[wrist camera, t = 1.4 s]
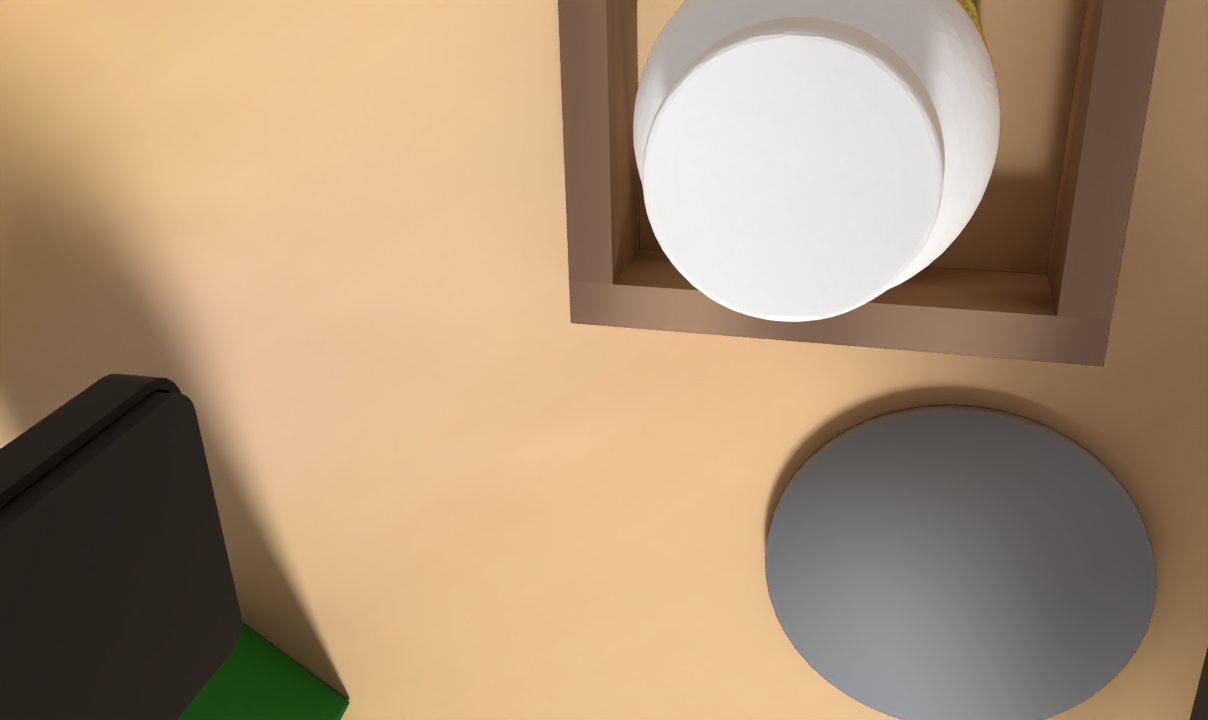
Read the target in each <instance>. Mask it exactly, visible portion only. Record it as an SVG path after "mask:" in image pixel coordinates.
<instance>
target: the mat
mask: <svg viewBox="0 0 1208 720" xmlns="http://www.w3.org/2000/svg"><path fill="white" fill-rule="evenodd" d="M765 570H766V581H767V586H768V591H769V597H770V600H771V602H772V605H773V608H774V611H775V614H776V616H777V618H778V620H779V622H780V624H781V626H782V628H783V630H784V632H785V634H786V635H787V637H788V638H789V640H790V641H791V643H792V644H793V646H794V647H795V649H796V650H797V651H798V652H799V654H800V655H801V656H802V657H803V658H804V659H805V660H806V661H807V663H808V664H809V665H810V666H811V667H812V668H813V669H814V670H815V671H816V672H818V673H819V674H820V675H821V676H822V677H823V678H824V679H825V680H827V681H828V682H829V683H830V684H832V685H833V686H835V687H836V688H837V689H839V690H840V691H842V692H843V693H845V694H846V695H848V696H849V697H851V698H853V699H855V700H857V701H858V702H860V703H862V704H864V705H866V706H868V707H870V708H872V709H875V710H877V711H879V712H881V713H884V714H886V715H889V716H892V717H895V718H898V719H901V720H1043V719H1046V718H1049V717H1052V716H1054V715H1057V714H1059V713H1061V712H1063V711H1066V710H1068V709H1070V708H1073V707H1074V706H1076V705H1078V704H1079V703H1081V702H1083V701H1084V700H1086V699H1088V698H1089V697H1091V696H1093V695H1094V694H1095V693H1097V692H1098V691H1099V690H1100V689H1102V688H1103V687H1104V686H1105V685H1107V684H1108V683H1109V682H1110V681H1111V680H1112V679H1113V678H1114V677H1115V676H1116V675H1117V674H1118V673H1119V672H1120V671H1121V670H1122V669H1123V668H1124V667H1125V666H1126V664H1127V663H1128V662H1129V660H1130V659H1131V657H1132V656H1133V654H1134V653H1135V652H1136V650H1137V649H1138V647H1139V645H1140V643H1141V641H1142V639H1143V637H1144V635H1145V633H1146V631H1147V629H1148V625H1149V622H1150V619H1151V615H1152V612H1153V609H1154V601H1155V593H1156V571H1155V562H1154V557H1153V553H1152V548H1151V544H1150V540H1149V537H1148V534H1147V531H1146V528H1145V526H1144V523H1143V521H1142V518H1141V516H1140V513H1139V511H1138V509H1137V507H1136V506H1135V504H1134V502H1133V501H1132V499H1131V497H1130V495H1129V494H1128V492H1127V490H1126V489H1125V488H1124V487H1123V485H1122V484H1121V483H1120V482H1119V481H1118V479H1117V478H1116V477H1115V476H1114V474H1113V473H1112V472H1111V471H1110V470H1109V469H1108V468H1107V467H1106V466H1105V465H1104V464H1103V463H1102V462H1100V461H1099V460H1098V459H1097V458H1096V457H1095V456H1094V455H1093V454H1092V453H1090V452H1089V451H1087V450H1086V449H1085V448H1083V447H1082V446H1080V445H1079V444H1078V443H1076V442H1075V441H1073V440H1072V439H1070V438H1068V437H1066V436H1065V435H1063V434H1061V433H1059V432H1057V431H1055V430H1054V429H1052V428H1050V427H1048V426H1045V425H1043V424H1040V423H1038V422H1035V421H1033V420H1030V419H1028V418H1025V417H1022V416H1018V415H1014V414H1011V413H1007V412H1003V411H1000V410H994V409H988V408H981V407H974V406H957V405H938V406H925V407H915V408H910V409H905V410H900V411H895V412H891V413H888V414H885V415H882V416H878V417H875V418H872V419H869V420H867V421H865V422H862V423H860V424H858V425H856V426H854V427H852V428H850V429H847V430H846V431H844V432H842V433H841V434H839V435H838V436H836V437H835V438H833V439H831V440H830V441H828V442H827V443H825V444H824V445H823V446H822V447H821V448H820V449H818V450H817V451H816V452H815V453H814V454H812V455H811V456H810V457H809V458H808V459H807V460H806V461H805V463H804V464H803V465H802V466H801V467H800V468H799V469H798V470H797V471H796V473H795V474H794V476H793V477H792V479H791V480H790V482H789V483H788V485H787V486H786V488H785V489H784V491H783V493H782V495H781V497H780V500H779V502H778V504H777V506H776V508H775V512H774V515H773V519H772V522H771V526H770V530H769V534H768V537H767V545H766V554H765Z"/></svg>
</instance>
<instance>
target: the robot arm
mask: <svg viewBox="0 0 1208 720" xmlns="http://www.w3.org/2000/svg"><path fill="white" fill-rule="evenodd" d="M240 628H241V614H240V609H239V604H238V600H237V595H236V591H235V586H234V582H233V577H232V573H231V568H230V564H229V559H228V555H227V550H226V546H225V541H224V537H223V533H222V528H221V524H220V519H219V515H218V510H217V506H216V501H215V497H214V492H213V488H212V483H211V479H210V474H209V470H208V465H207V461H206V456H205V452H204V447H203V443H202V438H201V434H200V429H199V425H198V420H197V416H196V411H195V409H194V406H193V403H192V402H191V400H190V399H189V398H188V397H187V396H185V395H183V394H181V392H180V390H179V388H178V387H177V386H176V384H175V383H174V382H172V381H171V380H169V379H167V378H158V377H147V376H135V375H124V374H110V375H108V376H105V377H103V378H101V379H100V380H98V381H97V382H96V383H94V384H93V385H91V386H90V387H88V388H87V389H86V390H84V391H83V392H81V393H80V394H78V395H77V396H76V397H74V398H73V399H71V400H70V401H68V402H67V403H66V404H64V405H63V406H61V407H60V408H58V409H57V410H56V411H54V412H53V413H51V414H50V415H48V416H47V417H46V418H44V419H43V420H41V421H40V422H38V423H37V424H36V425H34V426H33V427H31V428H30V429H28V430H27V431H26V432H24V433H23V434H21V435H20V436H18V437H17V438H16V439H14V440H13V441H11V442H10V443H8V444H7V445H6V446H4V447H3V448H1V449H0V720H177V719H178V718H179V716H180V715H181V714H182V713H183V711H184V710H185V709H186V708H187V707H188V705H189V704H190V703H191V702H192V700H193V699H194V698H195V697H196V695H197V694H198V693H199V692H200V691H201V689H202V688H203V687H204V686H205V684H206V683H207V682H208V681H209V679H210V678H211V677H212V676H213V675H214V673H215V672H216V671H217V670H218V668H219V667H220V666H221V665H222V664H223V662H224V661H225V660H226V659H227V657H228V656H229V655H230V654H231V652H232V650H233V649H234V647H235V645H236V643H237V640H238V637H239V633H240ZM1190 720H1208V648H1207V652H1206V657H1205V661H1204V665H1203V669H1202V673H1201V677H1200V681H1199V685H1198V689H1197V693H1196V697H1195V701H1194V705H1193V709H1192V713H1191V717H1190Z"/></svg>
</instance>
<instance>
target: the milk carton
mask: <svg viewBox="0 0 1208 720" xmlns="http://www.w3.org/2000/svg"><path fill="white" fill-rule="evenodd" d="M348 705H349V701H348V700H346V699H345V698H343V697H342V696H341V695H339V694H338V693H337V692H335V691H334V690H333V689H331V688H330V687H329V686H327V685H326V684H324V683H323V682H322V681H320V680H319V679H318V678H316V677H315V676H314V675H312V674H311V673H310V672H308V671H307V670H305V669H304V668H303V667H301V666H300V665H299V664H297V663H296V662H295V661H293V660H292V659H291V658H289V657H288V656H286V655H285V654H284V653H282V652H281V651H280V650H278V649H277V648H276V647H274V646H273V645H272V644H270V643H269V642H267V641H266V640H265V639H263V638H262V637H261V636H259V635H258V634H257V633H255V632H254V631H253V630H251V629H250V628H248V627H247V626H246V625H244V624H243V623H242V622H241V628H240V633H239V637H238V640H237V643H236V645H235V647H234V649H233V650H232V652H231V654H230V655H229V656H228V657H227V659H226V660H225V661H224V662H223V664H222V665H221V666H220V667H219V668H218V670H217V671H216V672H215V673H214V675H213V676H212V677H211V678H210V679H209V681H208V682H207V683H206V684H205V686H204V687H203V688H202V689H201V691H200V692H199V693H198V694H197V695H196V697H195V698H194V699H193V700H192V702H191V703H190V704H189V705H188V707H187V708H186V709H185V710H184V711H183V713H182V714H181V715H180V716H179V718H178V719H177V720H341V718H342V716H343V714H344V712H345V710H346V708H347V707H348Z"/></svg>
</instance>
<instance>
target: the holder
mask: <svg viewBox="0 0 1208 720" xmlns="http://www.w3.org/2000/svg"><path fill="white" fill-rule="evenodd" d="M1165 1H1166V0H1086V5H1085V12H1084V19H1083V26H1082V33H1081V40H1080V47H1079V54H1078V61H1077V68H1076V75H1075V82H1074V89H1073V96H1072V103H1071V110H1070V117H1069V124H1068V131H1067V138H1066V145H1065V152H1064V159H1063V166H1062V173H1061V180H1060V187H1059V194H1058V201H1057V208H1056V215H1055V222H1054V229H1053V236H1052V243H1051V250H1050V257H1049V264H1048V271H1047V275H1044V274H1028V273H1012V272H996V271H980V270H964V269H948V268H932V267H925V268H924V269H923V270H921V271H920V272H918V273H917V274H915V275H914V276H913V277H911V278H909V279H908V280H906V281H904V282H903V283H901V284H899V285H897V286H895V287H892V288H890V289H888V290H886V291H885V292H883V293H882V294H880V295H879V296H877V297H876V298H874V299H872V300H871V301H869V302H867V303H865V304H863V305H861V306H859V307H857V308H855V309H853V310H851V311H848V312H846V313H843V314H840V315H837V316H833V317H829V318H824V319H820V320H811V321H800V322H788V321H773V320H766V319H762V318H757V317H753V316H749V315H746V314H743V313H739V312H736V311H734V310H732V309H729V308H727V307H725V306H723V305H721V304H719V303H717V302H716V301H714V300H712V299H710V298H709V297H708V296H706V295H705V294H704V293H702V292H701V291H700V290H698V289H697V288H696V287H694V286H693V285H692V284H691V283H690V282H689V281H688V280H687V279H686V278H685V277H684V276H683V275H682V274H681V273H680V272H679V271H678V270H677V269H676V268H675V266H674V265H673V264H672V262H671V261H670V260H669V258H668V257H667V255H666V254H665V253H664V251H661V250H645V249H640V232H639V171H638V167H637V163H636V156H635V150H634V139H633V121H634V109H635V101H636V96H637V91H638V71H637V0H558V12H559V37H560V62H561V88H562V113H563V138H564V163H565V189H566V214H567V239H568V264H569V290H570V315H571V323H576V324H589V325H601V326H613V327H626V328H638V329H650V330H663V331H675V332H687V333H700V334H712V335H724V336H737V337H749V338H761V339H773V340H786V341H798V342H810V343H823V344H835V345H847V346H860V347H872V348H884V349H897V350H909V351H921V352H934V353H946V354H958V355H971V356H983V357H995V358H1008V359H1020V360H1032V361H1044V362H1057V363H1069V364H1081V365H1094V366H1103V365H1104V359H1105V353H1106V347H1107V341H1108V336H1109V330H1110V324H1111V318H1112V312H1113V306H1114V300H1115V294H1116V289H1117V283H1118V277H1119V271H1120V265H1121V259H1122V253H1123V247H1124V242H1125V236H1126V230H1127V224H1128V218H1129V212H1130V206H1131V200H1132V195H1133V189H1134V183H1135V177H1136V171H1137V165H1138V159H1139V153H1140V148H1141V142H1142V136H1143V130H1144V124H1145V118H1146V112H1147V106H1148V101H1149V95H1150V89H1151V83H1152V77H1153V71H1154V65H1155V59H1156V53H1157V48H1158V42H1159V36H1160V30H1161V24H1162V18H1163V12H1164V6H1165Z"/></svg>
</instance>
